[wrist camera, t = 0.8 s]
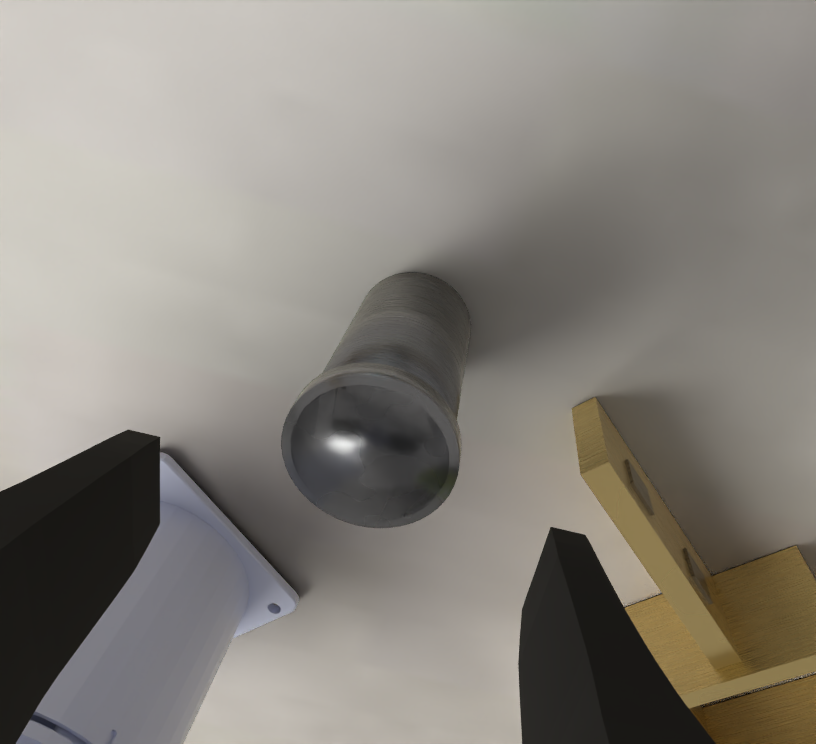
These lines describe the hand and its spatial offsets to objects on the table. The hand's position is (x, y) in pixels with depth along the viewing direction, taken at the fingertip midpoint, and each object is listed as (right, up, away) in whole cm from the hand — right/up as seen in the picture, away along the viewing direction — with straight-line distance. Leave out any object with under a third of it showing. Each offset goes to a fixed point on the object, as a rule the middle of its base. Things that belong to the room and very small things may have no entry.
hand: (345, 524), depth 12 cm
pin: (+1, +4, +8) cm, 9 cm away
